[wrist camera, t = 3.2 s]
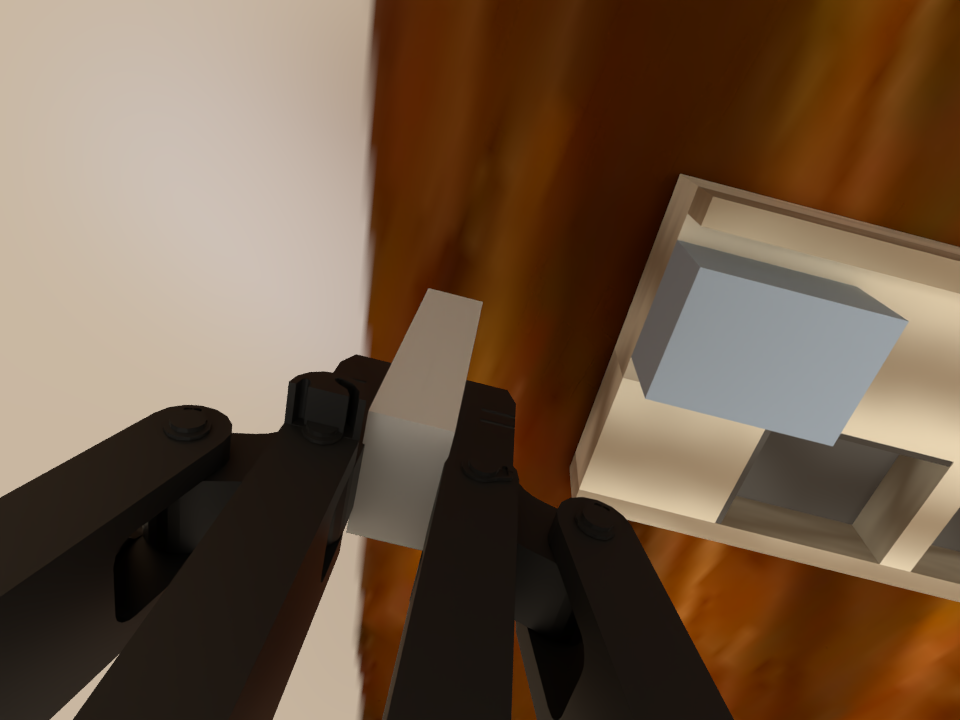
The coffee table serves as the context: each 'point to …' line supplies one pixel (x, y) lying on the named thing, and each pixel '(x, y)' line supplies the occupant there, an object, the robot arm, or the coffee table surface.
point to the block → (761, 343)
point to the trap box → (787, 459)
